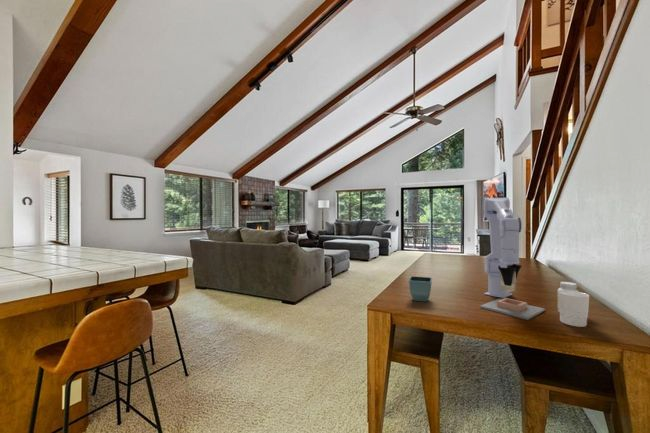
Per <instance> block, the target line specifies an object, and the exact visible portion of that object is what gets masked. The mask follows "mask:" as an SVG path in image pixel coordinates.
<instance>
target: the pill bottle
mask: <svg viewBox="0 0 650 433" xmlns="http://www.w3.org/2000/svg"><path fill="white" fill-rule="evenodd" d="M559 285H560V287H559V288H557V292H558V291H560V290H569V291H577V292H580V291H579V290H578V289H577V288H578V285H577V283H575V282H571V281H560V284H559ZM556 302H557V304H556V305H557V306H556V307H557V312H558V313H560V312H559V297H558V296H557V301H556Z"/></svg>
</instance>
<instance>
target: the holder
mask: <svg viewBox="0 0 650 433" xmlns="http://www.w3.org/2000/svg"><path fill="white" fill-rule="evenodd" d="M480 309H484V310H488V311H490V312H491V311H492V312H496V313H498V314H499V313H500V314H503V315H507V316H511V317H515V318H518V319H522V320H527V321H529V320H531V319H533V318H534V317H536V316H538V315H540V314H542V313H543V312H545V310H546V309H545V308H543V307H539V306H535V305H530V304H528V302H526V301H521V300H517V299H514V298H513V299H512V298H508V297H505V298H497V299H495V300H492V301H489V302H487V303H483V304H481V305H480Z"/></svg>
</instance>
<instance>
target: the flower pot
mask: <svg viewBox="0 0 650 433" xmlns="http://www.w3.org/2000/svg"><path fill="white" fill-rule="evenodd" d="M432 280H433V278H432V277H429V276H428V277H427V276H415V275H414V276H412V275H411V276H410V277H409V279H408V284H409V292H410V295H411V297H412V299H413V301H416V302H424V303H425V302H428V300H429V298H430V296H431V291H432V290H431V289H432Z"/></svg>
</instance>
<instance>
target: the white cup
mask: <svg viewBox="0 0 650 433" xmlns="http://www.w3.org/2000/svg"><path fill="white" fill-rule="evenodd" d="M558 297H559V312H558V313H559V321H560V322H561V323H563V324H564V325H567V326H568V325H569V326H571V327H577V328H578V327H579V328H581V327H583V328H585V327H587V326H588V325H587V324H588V317H589V316H588V315H589V307H590V306H589V305H590V294H588V293H585V292H580V291H579V292H577V291H569V290H560V291H558V290H557V298H558Z"/></svg>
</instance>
